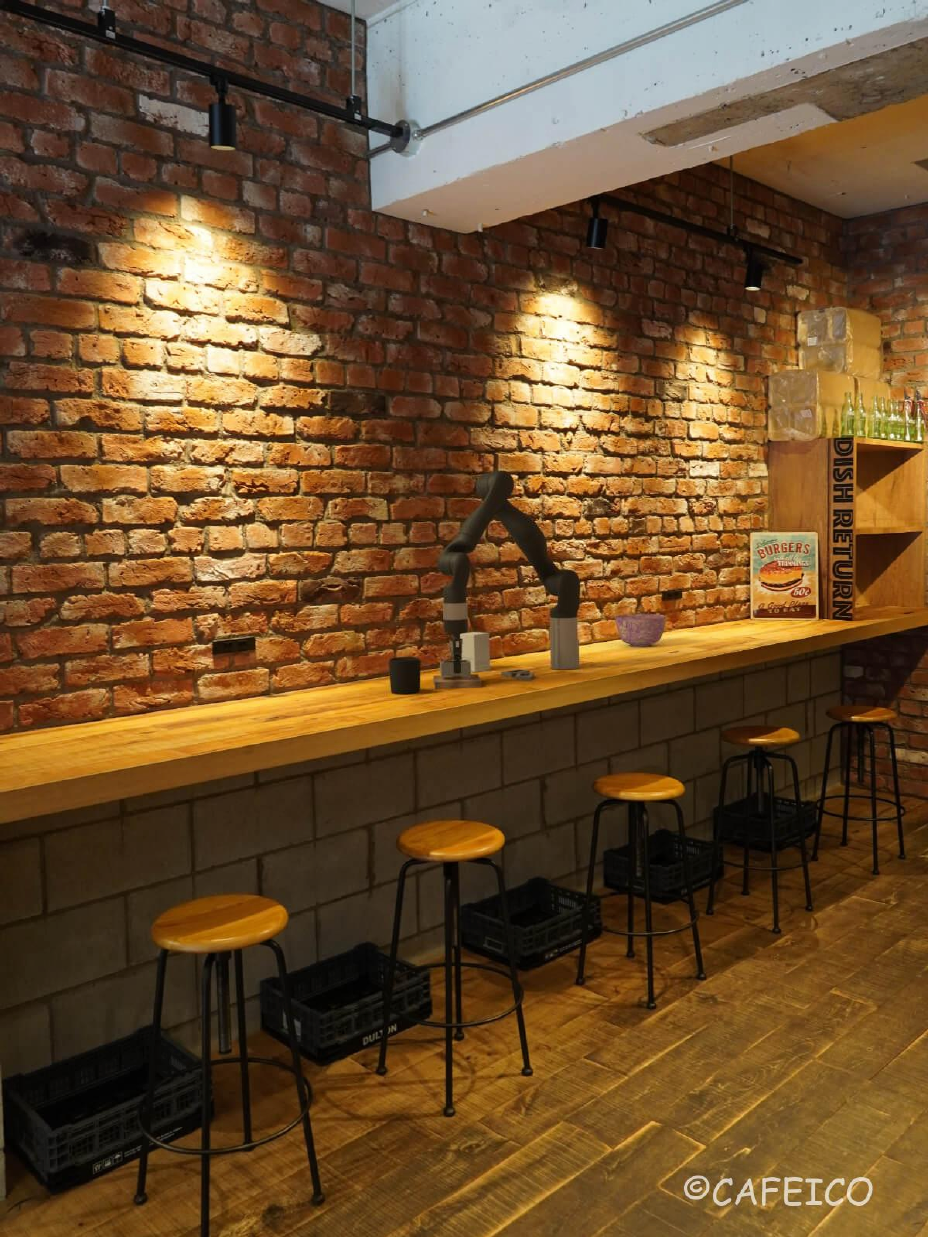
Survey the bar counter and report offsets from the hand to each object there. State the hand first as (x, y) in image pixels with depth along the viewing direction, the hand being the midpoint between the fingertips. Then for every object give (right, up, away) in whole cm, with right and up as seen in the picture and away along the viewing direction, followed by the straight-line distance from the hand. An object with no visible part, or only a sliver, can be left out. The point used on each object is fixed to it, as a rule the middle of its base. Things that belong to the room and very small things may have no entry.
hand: (456, 671), depth 322 cm
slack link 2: (+21, -3, +10) cm, 24 cm away
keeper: (0, -4, 0) cm, 4 cm away
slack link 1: (+19, -2, +18) cm, 26 cm away
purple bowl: (+71, +5, +87) cm, 113 cm away
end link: (0, -1, 0) cm, 1 cm away
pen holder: (-15, -6, -12) cm, 20 cm away
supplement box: (+6, -1, +31) cm, 31 cm away
